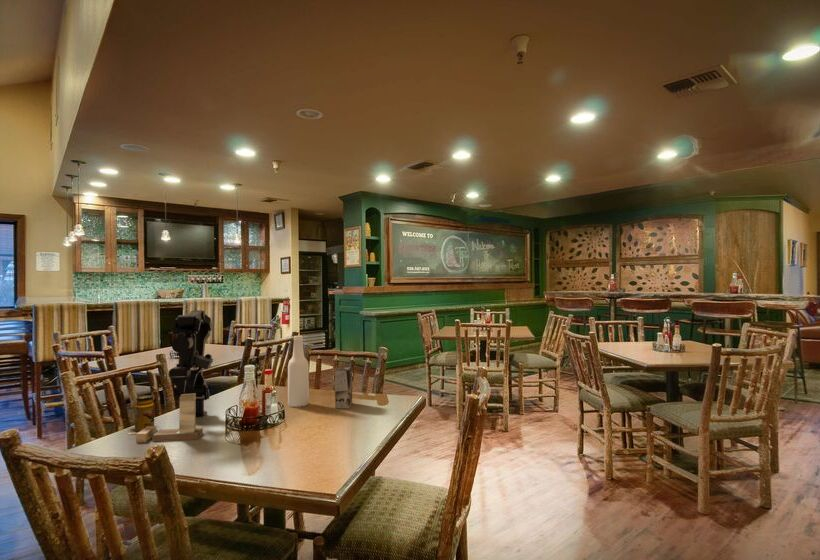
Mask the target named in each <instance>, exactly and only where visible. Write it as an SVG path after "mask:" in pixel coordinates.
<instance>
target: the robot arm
mask: <svg viewBox="0 0 820 560" xmlns="http://www.w3.org/2000/svg"><path fill="white" fill-rule="evenodd" d="M173 325H174V326H173V331H172V335H176V337H175V338H174V339H172V342H171V349H172V350H173V351H174V352H175V353H176V357H178V358H177V359H178V360H177V361H178V363H176V366H175V367H172V368H171V369H169V370H168V378H170V379H171V381H172V382H173V384H174V385H175V387H176V389H177V391H178V392H179V395H180V396H181V394H192V393H196V417H197V418H199V417H200V418H202V417H203V416H204V415H206V414H207V413H208V412H207V411H206V410H205V401H207V400H209V399H210V389H209V388H208V384H207V381H206V380H205V378H204V376H203V374H204V370H208V369H210V368H211V366H212V364H213V363H214V361H213V360H214V358H213V357H212V354H210V353H207V354H205V351H206V341H207V340H208V339H209V338H210V336H211V332H212V331H213V323H212V318H211V317H209V316H208V315H207V314H206V312H205V310H203V309H202V310H199V309H198V310H197V309H196V310H190V312H189V313H187V314H186V315H185V314H183V315H182V314H181V315H179V314H178V316H177V318H175V321H174V324H173Z"/></svg>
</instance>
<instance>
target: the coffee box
mask: <svg viewBox="0 0 820 560" xmlns="http://www.w3.org/2000/svg"><path fill="white" fill-rule="evenodd" d="M334 374H335V375H334V408H335V409H350V408H349V407H351V406H352V405H353V366H339V367H337V368H336V369H335V370H334ZM350 405H351V406H350Z"/></svg>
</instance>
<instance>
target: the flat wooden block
mask: <svg viewBox="0 0 820 560" xmlns="http://www.w3.org/2000/svg"><path fill="white" fill-rule="evenodd" d="M203 430H204V429H203V427H199V426H198V427H197V426H196V428H195V430H194V432H184V433H179V428H165V429H159V430H156V433H155V434H153V437H152V442H162V441H163V442H165V440H167V441H181V440H182V441H184V440H198V439H199V438H200V437H201V436H202V435H203V434H204V433H203Z"/></svg>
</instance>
